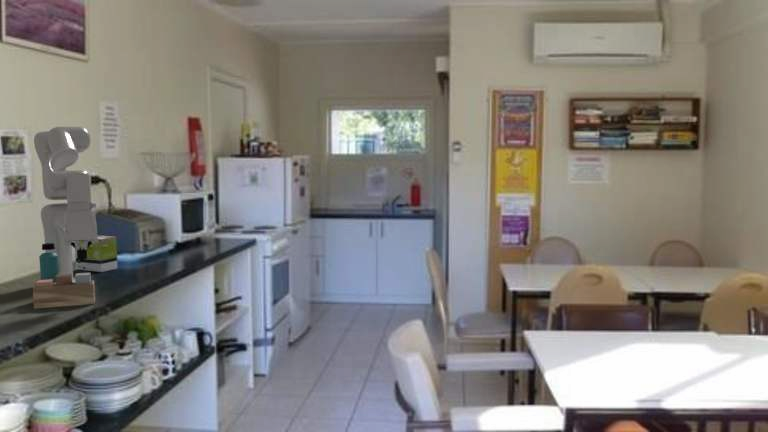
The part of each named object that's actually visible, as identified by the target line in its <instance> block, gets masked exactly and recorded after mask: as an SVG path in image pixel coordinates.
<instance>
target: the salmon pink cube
mask: <svg viewBox="0 0 768 432" xmlns="http://www.w3.org/2000/svg"><path fill="white" fill-rule="evenodd" d="M35 284H36V287H47V286H53V279H49V280H40V279H38V280H37V281H36V283H35Z"/></svg>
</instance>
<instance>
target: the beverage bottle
mask: <svg viewBox="0 0 768 432" xmlns="http://www.w3.org/2000/svg"><path fill="white" fill-rule="evenodd" d="M52 249H55V246H54V243H45V242H44V243H42V245H41V250H42V251H45V250H52ZM59 266H60V265H59V255H58V254H57V253H55V252H47V253H46V252H42V253H41V254H40V255H39V271H40V272H39V274H40V276H39V278H40V279H39V280H49V279H53V283H56V276H57V275H60V270H59Z"/></svg>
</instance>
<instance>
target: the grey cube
mask: <svg viewBox="0 0 768 432" xmlns="http://www.w3.org/2000/svg"><path fill="white" fill-rule="evenodd" d="M74 278H75V284H76V285H77V284H91V281H92V276H91V272H80V273H78V272H77V273H75V275H74Z"/></svg>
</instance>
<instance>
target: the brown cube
mask: <svg viewBox="0 0 768 432" xmlns="http://www.w3.org/2000/svg"><path fill="white" fill-rule="evenodd" d="M62 285H72V274H60V275H57V276H56V286H62Z"/></svg>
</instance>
